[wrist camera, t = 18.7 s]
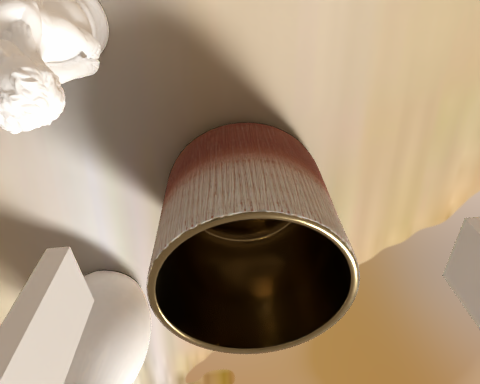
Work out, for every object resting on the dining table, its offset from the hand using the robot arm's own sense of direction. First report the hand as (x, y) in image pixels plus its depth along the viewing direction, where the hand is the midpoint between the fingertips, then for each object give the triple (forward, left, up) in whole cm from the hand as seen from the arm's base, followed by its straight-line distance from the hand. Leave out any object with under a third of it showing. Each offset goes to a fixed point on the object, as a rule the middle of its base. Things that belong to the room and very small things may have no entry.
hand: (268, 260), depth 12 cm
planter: (0, -20, -35) cm, 40 cm away
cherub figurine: (-20, +3, -35) cm, 40 cm away
